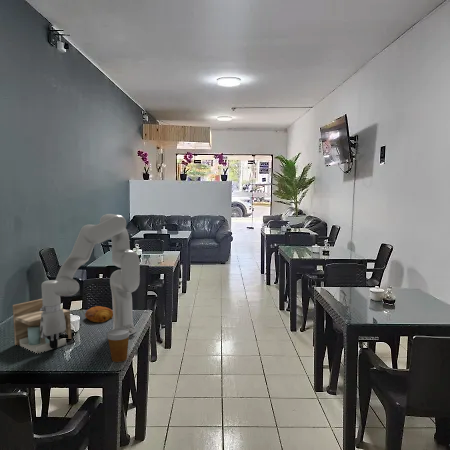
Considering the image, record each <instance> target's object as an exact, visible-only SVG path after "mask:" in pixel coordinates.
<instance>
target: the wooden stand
mask: <svg viewBox="0 0 450 450" xmlns="http://www.w3.org/2000/svg"><path fill="white" fill-rule="evenodd" d="M42 306H43V305H42V298H39V299H33V300H31V301H24V302H21V303H16V304H12V315H13V316H12V319H13V321H12V322H13V333H14V335H13V337H14V345H15V346H16V345H17V346H20V340H19V339H23V338H26V337H28V327H30V326H40V321H41V314H42V312H43V311H40V308H42ZM61 309H63V312H64V316H65V323H66V330H65V332H66V333H67V335H68V339H72V326H71V322H72V321H71V310H67V309H64V308H62V307H61ZM40 333H41V331H40Z"/></svg>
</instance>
